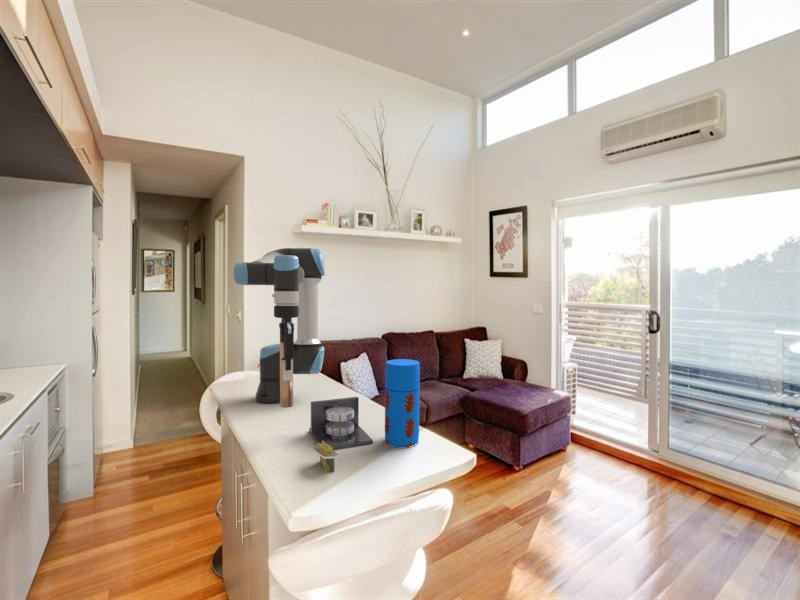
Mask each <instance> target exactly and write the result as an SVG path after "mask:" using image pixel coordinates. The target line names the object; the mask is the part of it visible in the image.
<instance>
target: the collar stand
mask: <svg viewBox="0 0 800 600" xmlns="http://www.w3.org/2000/svg"><path fill="white" fill-rule="evenodd" d="M359 400H360V399H359V397H358V396H353V397H342V398H333V399H326V400H325V399H324V400H315V401H310V427H309V428H308V431H309V433H310V435H311V436H312V438H313V440H314V441H315V443H316V444H317V442H318V443H319V444H320V443H322V441H324V442H325V443H327V444H328V445H329V446H331V447H332V450H333V451H335V450H338V449H345V448H346V447H347V448H351V447H357V446H358V445H359V446H363V445H364V444H365V445H371V444H373V443H374V439H372V438H371V436H370V435H368V433H367V432H366V431H365V430H363V428H362V427H361V426H360V425H359V411H360V410H359V402H360V401H359ZM370 443H371V444H370Z"/></svg>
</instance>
